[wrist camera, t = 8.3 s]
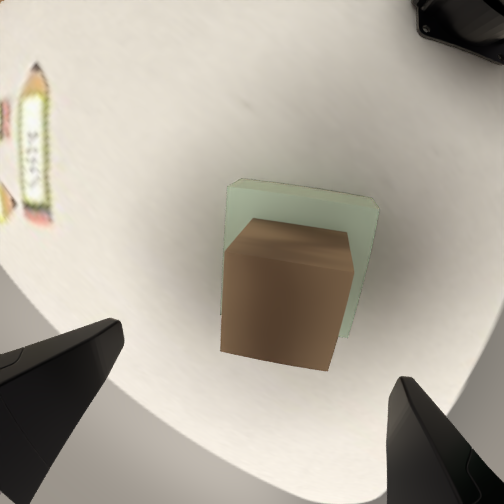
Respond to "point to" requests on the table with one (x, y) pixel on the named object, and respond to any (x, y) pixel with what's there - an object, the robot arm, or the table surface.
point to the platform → (307, 221)
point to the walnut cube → (285, 293)
